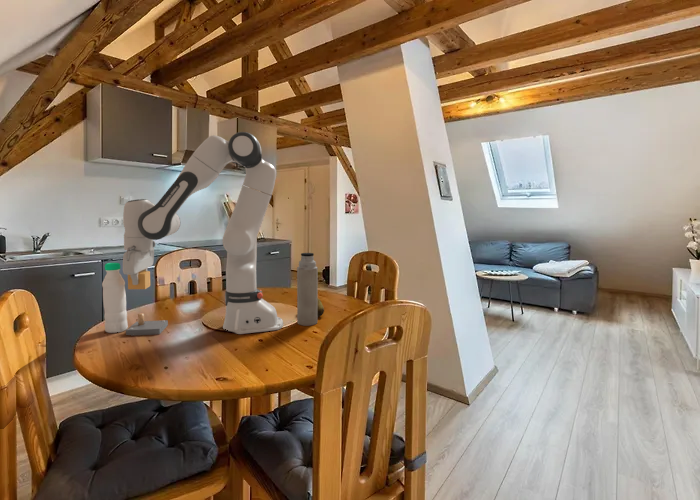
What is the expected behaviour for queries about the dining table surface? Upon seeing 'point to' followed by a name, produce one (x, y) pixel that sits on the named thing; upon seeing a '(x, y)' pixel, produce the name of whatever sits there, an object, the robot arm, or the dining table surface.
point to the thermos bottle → (307, 290)
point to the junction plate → (146, 326)
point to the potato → (320, 308)
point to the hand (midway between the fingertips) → (139, 282)
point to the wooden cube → (140, 280)
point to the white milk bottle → (114, 299)
